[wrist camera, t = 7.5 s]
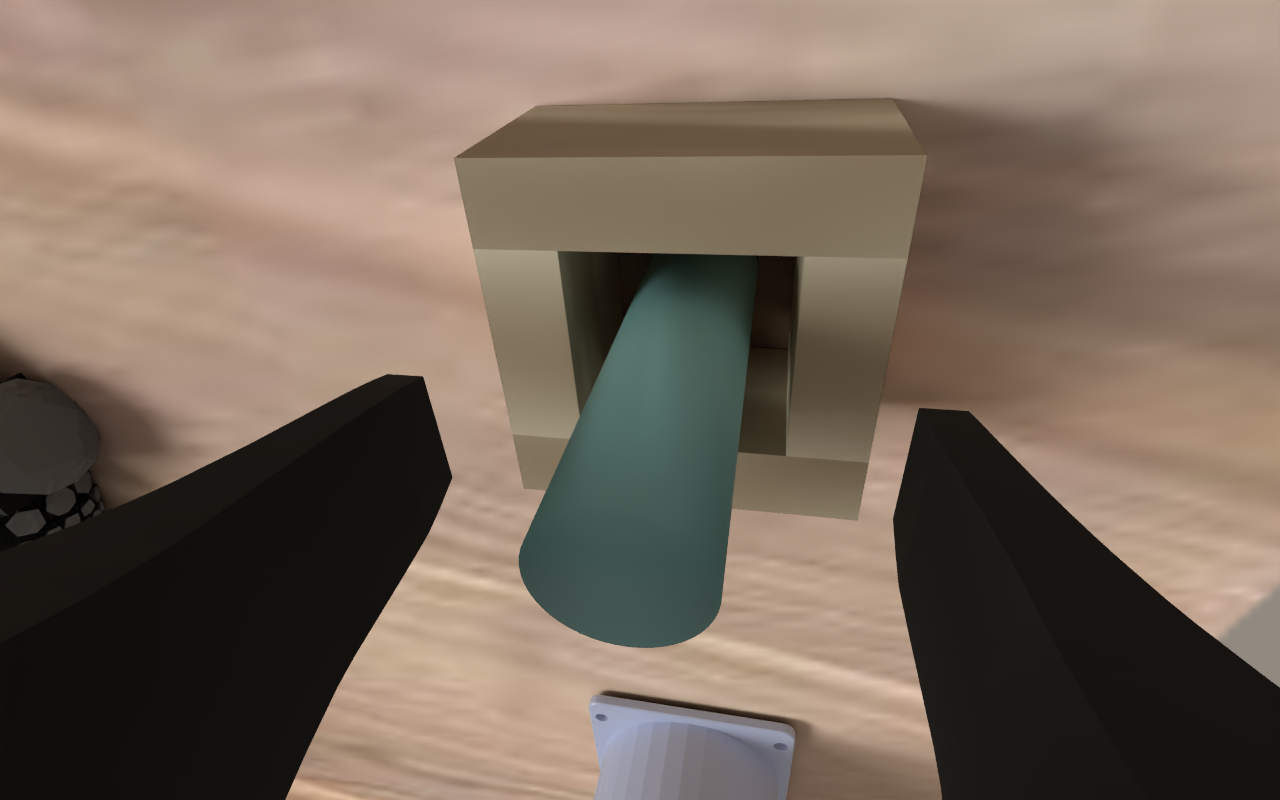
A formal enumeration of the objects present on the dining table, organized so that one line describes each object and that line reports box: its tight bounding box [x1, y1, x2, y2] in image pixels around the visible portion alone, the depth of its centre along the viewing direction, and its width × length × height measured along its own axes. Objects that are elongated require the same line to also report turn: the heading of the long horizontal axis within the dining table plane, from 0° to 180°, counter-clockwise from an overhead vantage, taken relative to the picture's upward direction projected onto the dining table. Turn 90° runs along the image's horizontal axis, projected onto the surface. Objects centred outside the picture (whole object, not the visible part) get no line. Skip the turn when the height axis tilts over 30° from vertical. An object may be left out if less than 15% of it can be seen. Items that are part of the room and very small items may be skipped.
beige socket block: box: [454, 98, 927, 520], centre depth 13 cm, size 7×7×4 cm
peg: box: [519, 253, 758, 648], centre depth 11 cm, size 2×2×9 cm
